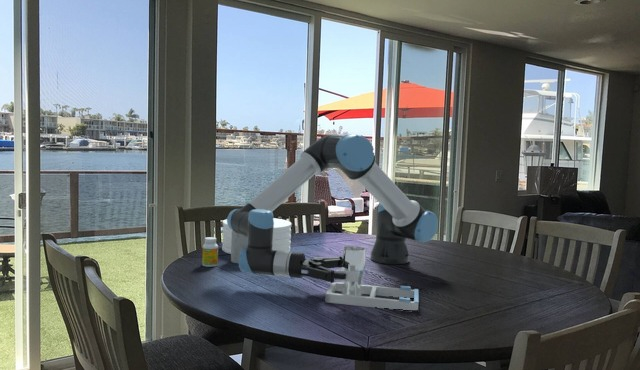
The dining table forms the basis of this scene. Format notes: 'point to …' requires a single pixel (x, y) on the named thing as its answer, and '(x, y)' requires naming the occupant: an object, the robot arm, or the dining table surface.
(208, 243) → the supplement bottle
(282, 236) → the plate stack
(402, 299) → the light blue bracket
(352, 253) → the beer glass
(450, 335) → the dining table surface
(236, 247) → the gray cylinder
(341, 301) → the frame
